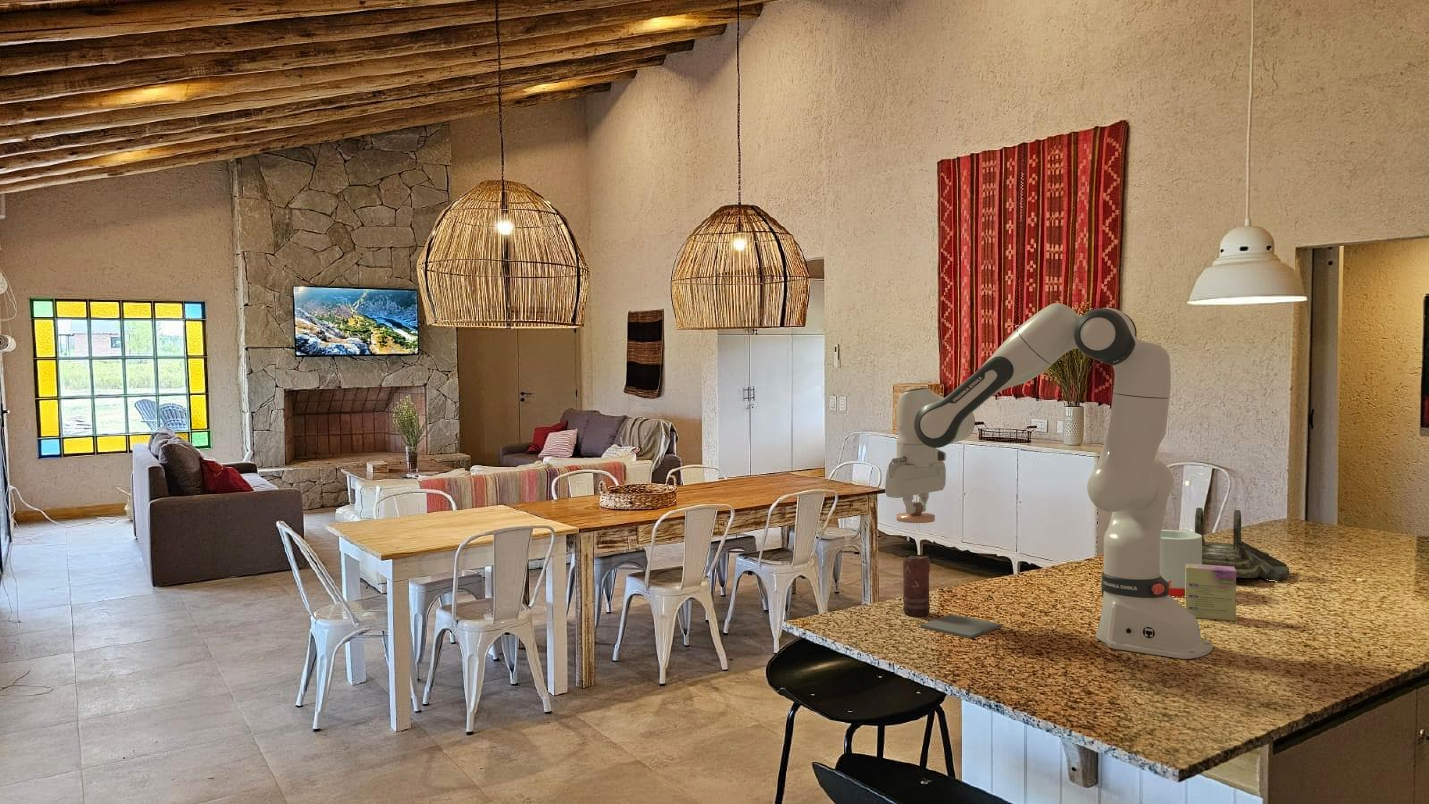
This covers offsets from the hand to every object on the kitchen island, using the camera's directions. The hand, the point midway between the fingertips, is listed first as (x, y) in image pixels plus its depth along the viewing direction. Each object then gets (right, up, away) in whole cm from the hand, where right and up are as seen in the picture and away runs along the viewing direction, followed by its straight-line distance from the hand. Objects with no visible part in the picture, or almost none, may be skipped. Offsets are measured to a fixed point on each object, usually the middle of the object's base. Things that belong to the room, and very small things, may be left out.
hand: (915, 512), depth 227 cm
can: (0, -25, +1) cm, 25 cm away
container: (+71, -23, +20) cm, 77 cm away
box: (+67, -24, -6) cm, 72 cm away
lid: (0, -2, 0) cm, 2 cm away
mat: (+8, -25, -11) cm, 28 cm away
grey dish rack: (+95, -22, +42) cm, 106 cm away
